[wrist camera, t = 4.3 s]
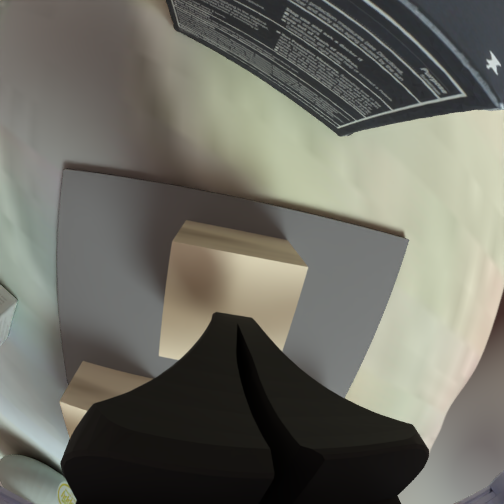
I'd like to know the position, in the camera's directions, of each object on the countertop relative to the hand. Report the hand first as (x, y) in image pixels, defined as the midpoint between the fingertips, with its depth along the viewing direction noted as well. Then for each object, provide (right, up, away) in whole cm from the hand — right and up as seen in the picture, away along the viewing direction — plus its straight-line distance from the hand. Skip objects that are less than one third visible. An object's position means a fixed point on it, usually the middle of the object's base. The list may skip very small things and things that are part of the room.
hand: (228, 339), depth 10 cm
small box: (+3, +14, +3) cm, 14 cm away
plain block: (0, +2, +5) cm, 6 cm away
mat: (-2, -3, +7) cm, 8 cm away
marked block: (-8, -7, +7) cm, 13 cm away
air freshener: (-23, -22, +11) cm, 34 cm away
